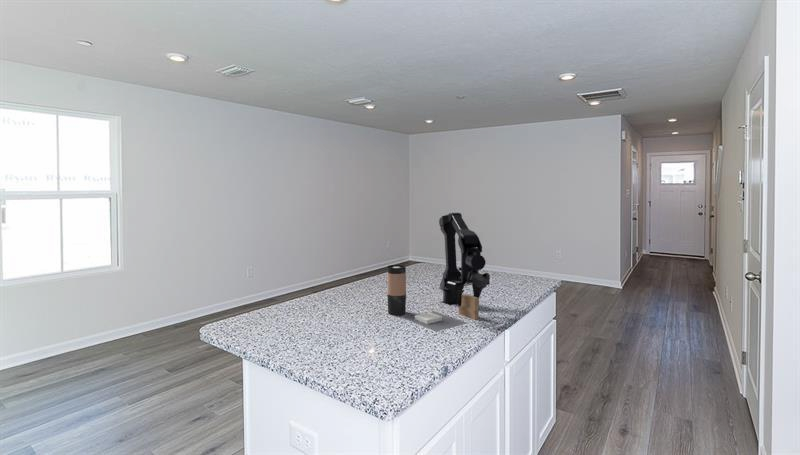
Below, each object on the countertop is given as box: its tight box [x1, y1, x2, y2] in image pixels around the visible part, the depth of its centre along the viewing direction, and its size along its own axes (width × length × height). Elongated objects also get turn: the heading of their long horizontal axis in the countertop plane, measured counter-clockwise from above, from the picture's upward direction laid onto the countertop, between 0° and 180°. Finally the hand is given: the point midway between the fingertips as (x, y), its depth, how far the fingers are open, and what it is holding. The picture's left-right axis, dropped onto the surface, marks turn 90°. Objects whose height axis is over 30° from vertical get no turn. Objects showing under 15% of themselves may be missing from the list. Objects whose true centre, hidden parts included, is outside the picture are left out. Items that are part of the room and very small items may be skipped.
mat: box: [403, 310, 468, 332], centre depth 165 cm, size 20×16×1 cm
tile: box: [415, 311, 442, 324], centre depth 166 cm, size 8×2×8 cm
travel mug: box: [386, 264, 407, 317], centre depth 174 cm, size 8×8×20 cm
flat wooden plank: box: [458, 292, 480, 321], centre depth 169 cm, size 9×2×9 cm, turn 36°
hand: (468, 304), depth 169 cm, fingers open, 9 cm apart
